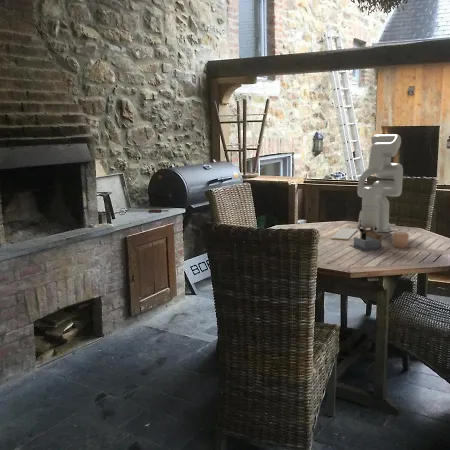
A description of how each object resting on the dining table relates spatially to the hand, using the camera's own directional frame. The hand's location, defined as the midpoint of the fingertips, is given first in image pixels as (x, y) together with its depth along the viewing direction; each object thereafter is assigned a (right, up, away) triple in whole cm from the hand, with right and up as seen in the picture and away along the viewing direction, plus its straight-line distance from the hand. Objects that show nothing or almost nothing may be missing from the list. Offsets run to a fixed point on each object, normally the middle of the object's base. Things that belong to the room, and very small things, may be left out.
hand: (367, 239), depth 301 cm
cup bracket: (-6, -4, -16) cm, 18 cm away
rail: (+1, -1, -4) cm, 4 cm away
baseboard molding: (-10, +2, +18) cm, 21 cm away
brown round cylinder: (+14, -3, -15) cm, 21 cm away
